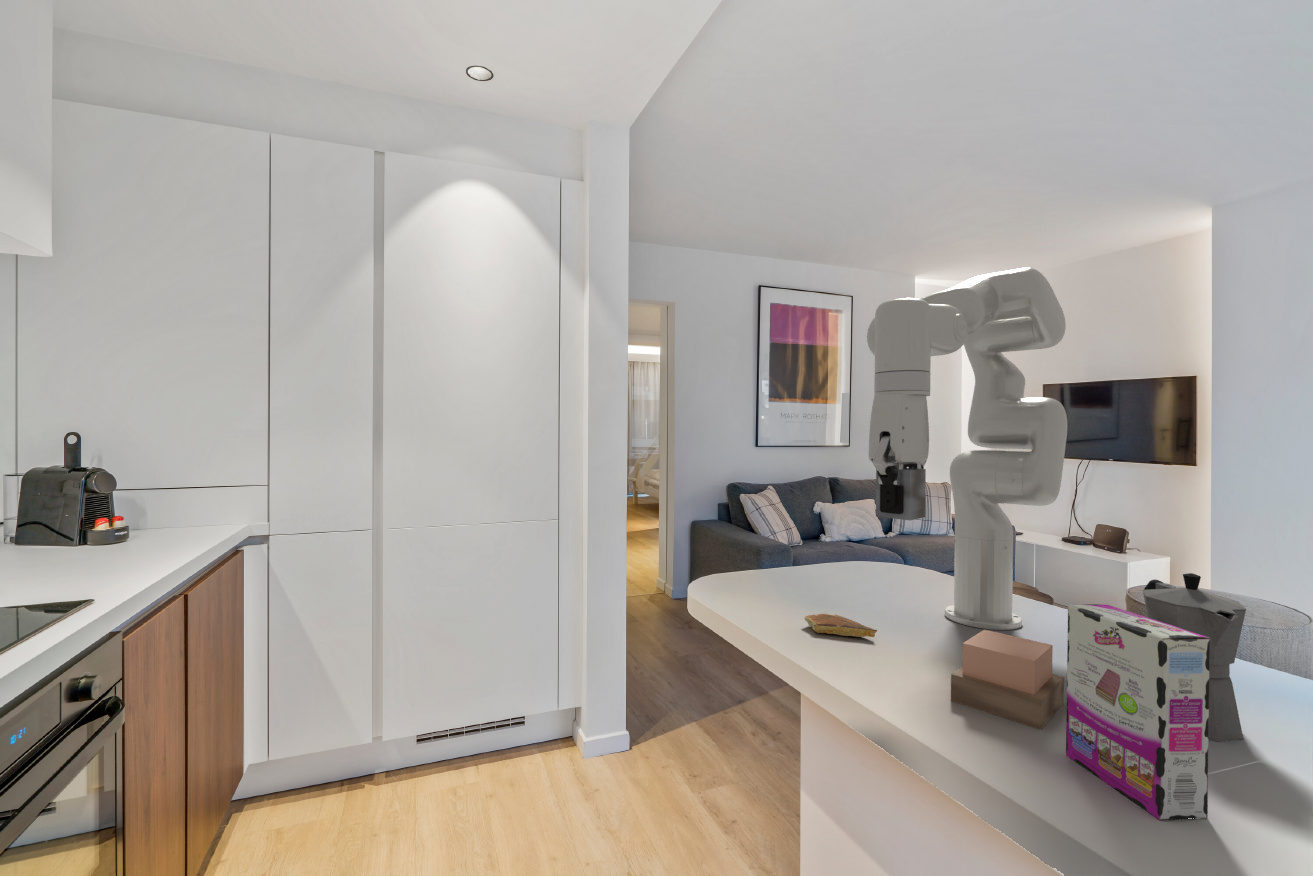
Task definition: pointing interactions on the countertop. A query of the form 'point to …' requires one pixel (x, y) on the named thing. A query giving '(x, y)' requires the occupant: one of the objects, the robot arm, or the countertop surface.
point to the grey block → (907, 495)
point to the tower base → (1009, 699)
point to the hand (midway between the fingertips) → (900, 510)
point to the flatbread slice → (838, 625)
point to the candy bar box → (1139, 708)
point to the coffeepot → (1223, 629)
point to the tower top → (1008, 661)
